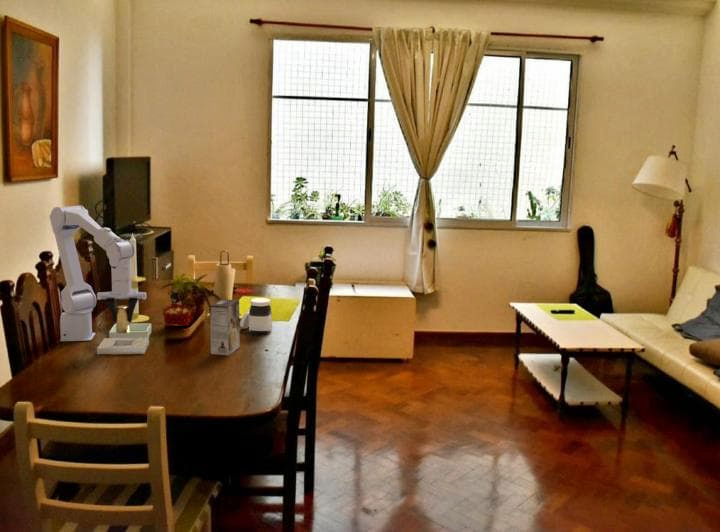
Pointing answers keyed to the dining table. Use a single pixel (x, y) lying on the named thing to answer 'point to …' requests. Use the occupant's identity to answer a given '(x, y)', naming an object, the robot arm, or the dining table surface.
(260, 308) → the spread jar
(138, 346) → the block
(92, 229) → the robot arm
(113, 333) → the tray
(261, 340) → the dining table surface
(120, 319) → the pin
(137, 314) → the candle
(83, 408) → the dining table surface
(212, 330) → the coffee box
